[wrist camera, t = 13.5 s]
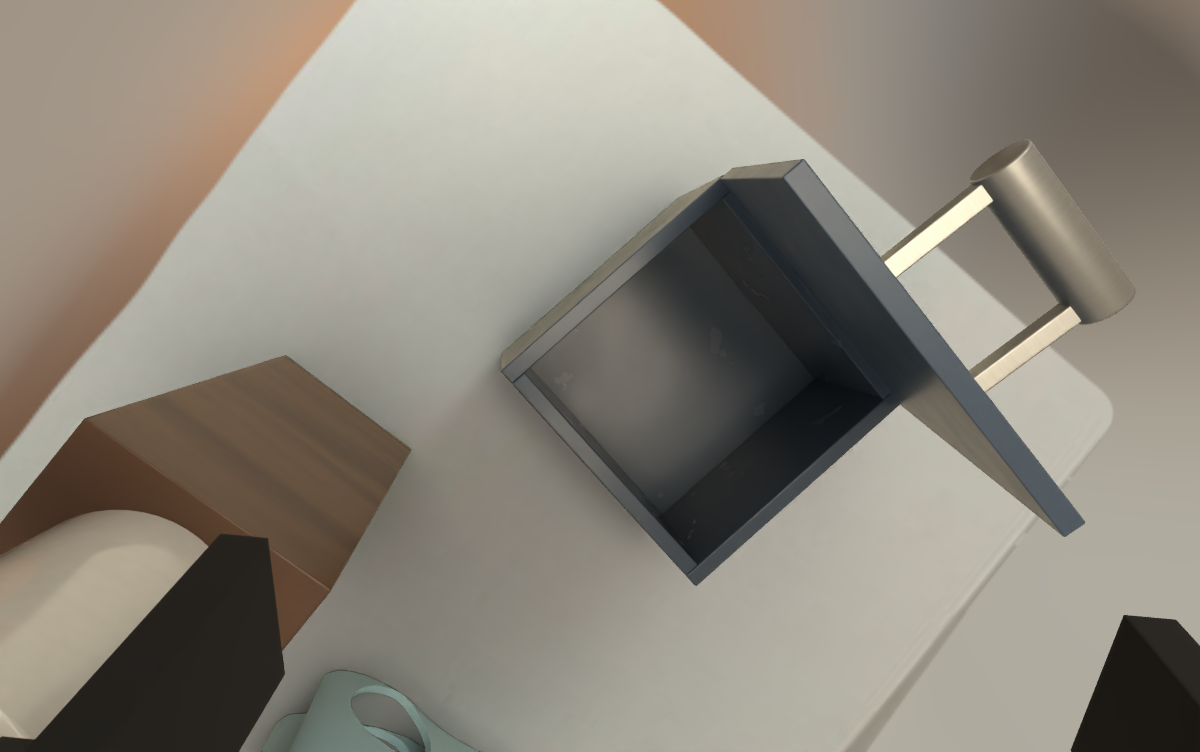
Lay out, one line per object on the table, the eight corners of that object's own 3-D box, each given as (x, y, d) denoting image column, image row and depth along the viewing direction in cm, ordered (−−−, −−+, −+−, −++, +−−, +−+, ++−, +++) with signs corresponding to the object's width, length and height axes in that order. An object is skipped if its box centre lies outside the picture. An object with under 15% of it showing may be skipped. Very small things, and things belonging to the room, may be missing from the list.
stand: (285, 354, 45) (84, 417, 24) (411, 449, 47) (331, 590, 25) (187, 475, 45) (-102, 648, 24) (316, 566, 47) (154, 808, 25)
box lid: (1065, 538, 25) (1260, 404, 24) (781, 177, 23) (982, 8, 21) (902, 407, 39) (1018, 320, 38) (719, 178, 37) (837, 78, 36)
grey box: (658, 528, 49) (696, 587, 40) (501, 353, 47) (500, 371, 37) (826, 378, 49) (905, 400, 40) (678, 197, 47) (723, 174, 37)
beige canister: (3, 500, 24) (-356, 653, 14) (247, 517, 25) (74, 673, 15) (-5, 721, 24) (-353, 1018, 14) (233, 729, 25) (59, 1015, 15)
